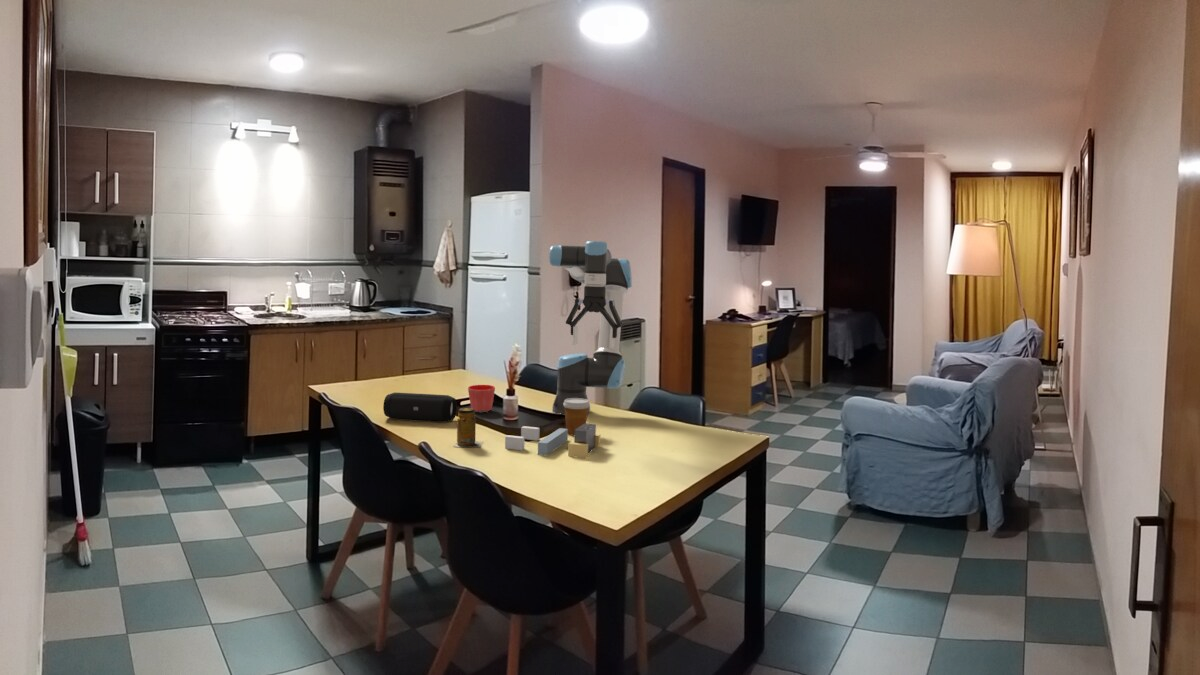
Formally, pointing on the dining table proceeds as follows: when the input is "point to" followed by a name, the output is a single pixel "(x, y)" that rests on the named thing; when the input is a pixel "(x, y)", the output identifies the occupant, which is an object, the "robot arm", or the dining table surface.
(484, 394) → the flower pot
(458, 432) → the condiment
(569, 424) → the disposable coffee cup
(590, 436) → the steel block
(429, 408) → the portable speaker
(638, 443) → the dining table surface
